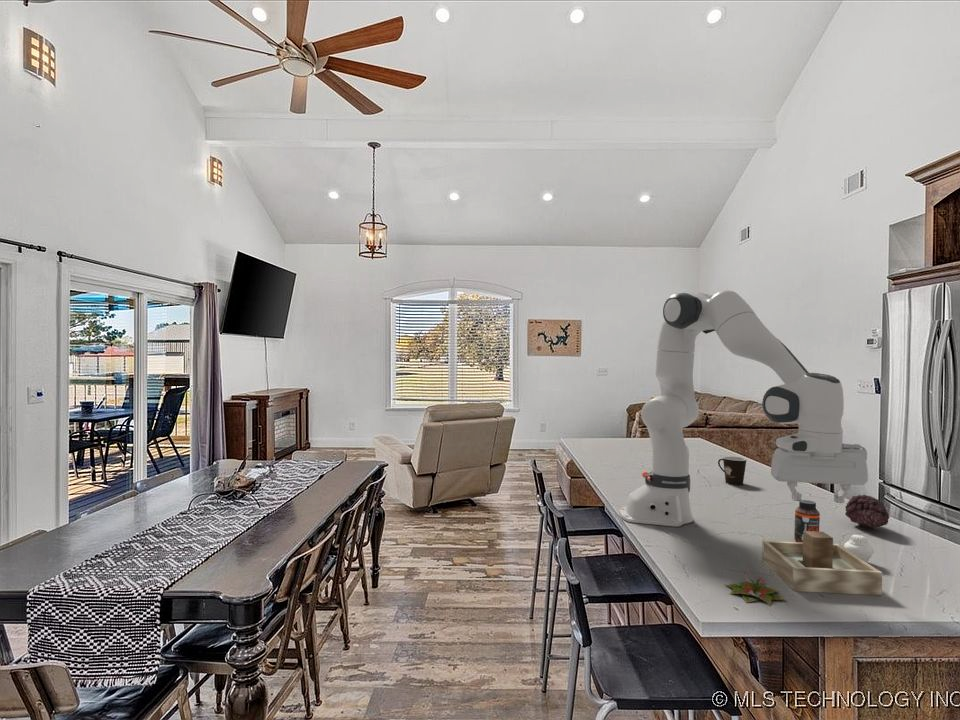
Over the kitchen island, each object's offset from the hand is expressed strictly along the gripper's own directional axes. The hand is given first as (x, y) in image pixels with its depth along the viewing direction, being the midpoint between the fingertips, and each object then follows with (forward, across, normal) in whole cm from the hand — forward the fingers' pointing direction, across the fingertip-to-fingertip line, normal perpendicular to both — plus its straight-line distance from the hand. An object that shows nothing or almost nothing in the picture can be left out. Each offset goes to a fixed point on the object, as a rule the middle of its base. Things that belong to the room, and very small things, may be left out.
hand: (817, 501), depth 130 cm
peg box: (+18, 0, 0) cm, 18 cm away
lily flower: (+18, +18, +12) cm, 28 cm away
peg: (+18, 0, 0) cm, 18 cm away
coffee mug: (+19, -13, -96) cm, 98 cm away
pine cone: (+18, -33, -40) cm, 55 cm away
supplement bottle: (+18, -9, -25) cm, 32 cm away
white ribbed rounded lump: (+18, -15, -11) cm, 26 cm away
